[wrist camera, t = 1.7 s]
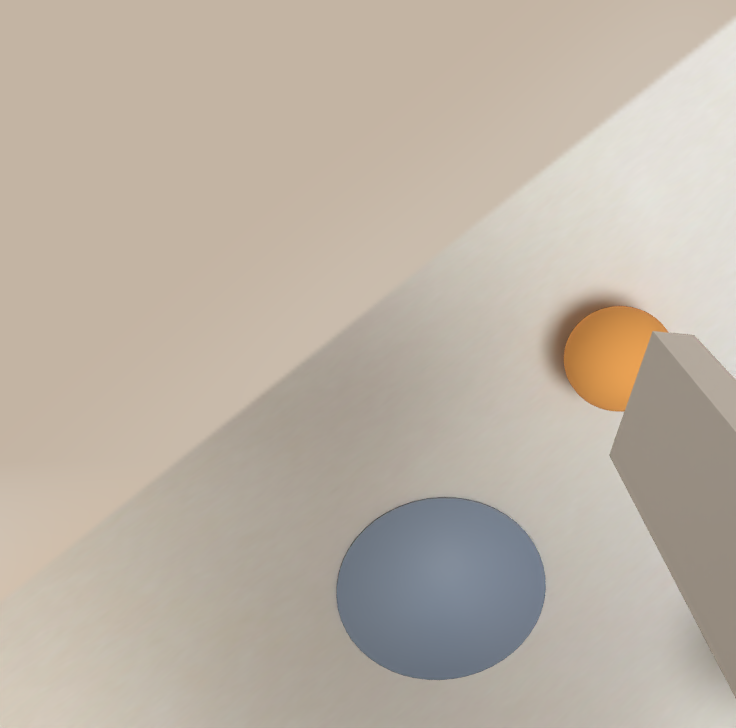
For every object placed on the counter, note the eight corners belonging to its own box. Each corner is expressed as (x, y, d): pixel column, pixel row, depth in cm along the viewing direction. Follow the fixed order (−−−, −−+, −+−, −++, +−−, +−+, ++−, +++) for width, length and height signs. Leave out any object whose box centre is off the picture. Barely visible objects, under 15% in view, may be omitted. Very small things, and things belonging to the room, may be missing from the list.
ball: (668, 325, 39) (718, 351, 33) (613, 407, 40) (653, 445, 35) (586, 279, 38) (624, 299, 33) (532, 364, 39) (561, 397, 34)
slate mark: (584, 552, 43) (585, 553, 42) (477, 705, 46) (477, 708, 46) (400, 462, 41) (400, 463, 40) (300, 629, 44) (300, 631, 44)
